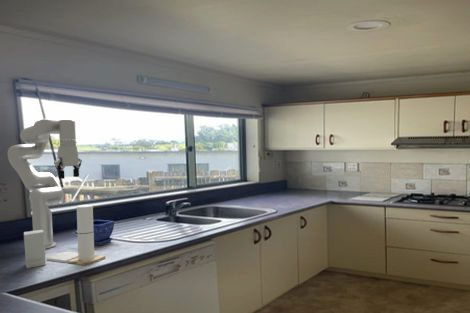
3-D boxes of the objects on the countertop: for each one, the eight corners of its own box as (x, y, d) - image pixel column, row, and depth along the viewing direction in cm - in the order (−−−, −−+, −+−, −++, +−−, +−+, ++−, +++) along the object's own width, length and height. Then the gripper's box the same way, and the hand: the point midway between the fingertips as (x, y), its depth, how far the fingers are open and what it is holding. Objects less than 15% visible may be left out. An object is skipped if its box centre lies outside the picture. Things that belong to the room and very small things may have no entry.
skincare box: (45, 261, 193) (43, 229, 192) (45, 265, 187) (44, 231, 186) (25, 264, 189) (23, 231, 188) (25, 268, 183) (23, 234, 182)
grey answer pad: (46, 260, 196) (46, 258, 196) (65, 253, 207) (65, 251, 207) (65, 262, 191) (65, 260, 191) (84, 255, 202) (84, 253, 202)
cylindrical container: (80, 261, 189) (78, 207, 188) (76, 257, 195) (74, 205, 194) (96, 258, 193) (94, 206, 192) (91, 255, 199) (90, 204, 198)
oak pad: (67, 262, 191) (67, 260, 191) (85, 255, 202) (85, 253, 202) (87, 265, 186) (87, 263, 186) (105, 258, 197) (105, 256, 197)
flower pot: (96, 239, 234) (95, 219, 233) (115, 241, 229) (114, 220, 229) (79, 245, 221) (79, 223, 221) (100, 247, 217) (99, 225, 216)
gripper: (74, 143, 215) (76, 175, 215) (48, 144, 199) (49, 179, 200) (86, 143, 212) (87, 176, 213) (60, 143, 196) (61, 179, 197)
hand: (69, 177), depth 206 cm, fingers open, 9 cm apart
